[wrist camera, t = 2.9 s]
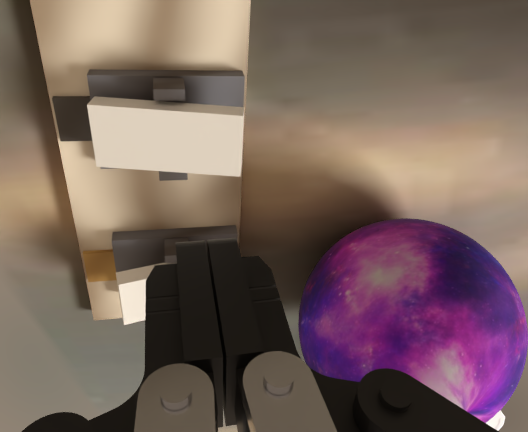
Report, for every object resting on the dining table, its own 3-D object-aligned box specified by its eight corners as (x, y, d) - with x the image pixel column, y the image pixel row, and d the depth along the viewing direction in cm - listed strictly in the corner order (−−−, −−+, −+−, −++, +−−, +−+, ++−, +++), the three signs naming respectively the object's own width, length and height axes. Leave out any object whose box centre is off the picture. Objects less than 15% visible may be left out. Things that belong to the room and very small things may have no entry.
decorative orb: (473, 171, 36) (634, 316, 24) (429, 309, 44) (531, 466, 32) (282, 187, 33) (354, 358, 21) (275, 329, 42) (323, 508, 30)
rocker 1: (244, 107, 25) (243, 116, 24) (241, 166, 27) (240, 176, 26) (94, 96, 25) (86, 104, 24) (103, 156, 27) (96, 166, 26)
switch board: (258, -256, 20) (277, -281, 17) (234, 298, 39) (240, 334, 36) (-23, -297, 18) (-60, -334, 15) (95, 310, 37) (89, 349, 34)
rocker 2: (233, 248, 33) (239, 258, 32) (232, 286, 35) (237, 297, 34) (115, 272, 30) (118, 284, 29) (121, 312, 32) (124, 325, 31)
